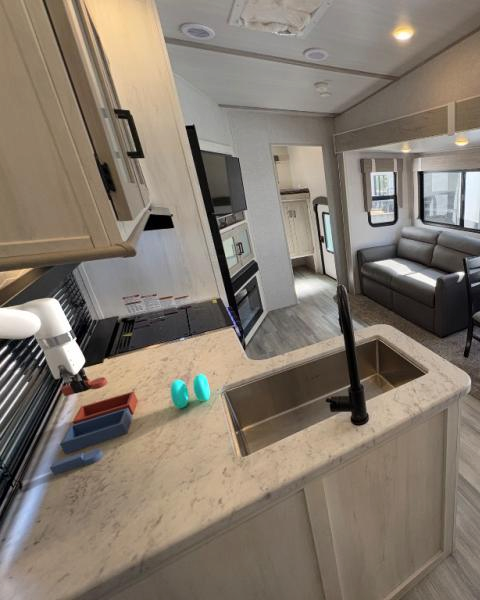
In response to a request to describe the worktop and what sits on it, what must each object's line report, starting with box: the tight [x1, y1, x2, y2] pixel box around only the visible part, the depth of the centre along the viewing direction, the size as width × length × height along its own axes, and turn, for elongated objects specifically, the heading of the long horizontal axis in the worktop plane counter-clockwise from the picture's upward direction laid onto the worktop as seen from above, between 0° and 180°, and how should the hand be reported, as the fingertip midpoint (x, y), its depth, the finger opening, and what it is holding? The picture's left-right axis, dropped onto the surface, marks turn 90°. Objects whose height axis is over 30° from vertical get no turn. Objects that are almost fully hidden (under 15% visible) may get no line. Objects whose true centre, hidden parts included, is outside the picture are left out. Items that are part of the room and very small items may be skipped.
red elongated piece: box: [60, 377, 108, 397], centre depth 99 cm, size 10×4×3 cm, turn 121°
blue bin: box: [59, 408, 133, 455], centre depth 99 cm, size 15×9×4 cm, turn 122°
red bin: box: [72, 390, 139, 425], centre depth 107 cm, size 15×9×4 cm, turn 122°
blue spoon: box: [49, 448, 104, 476], centre depth 88 cm, size 10×4×3 cm, turn 122°
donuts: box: [170, 373, 211, 409], centre depth 111 cm, size 10×10×10 cm
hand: (82, 389), depth 99 cm, fingers closed on red elongated piece
